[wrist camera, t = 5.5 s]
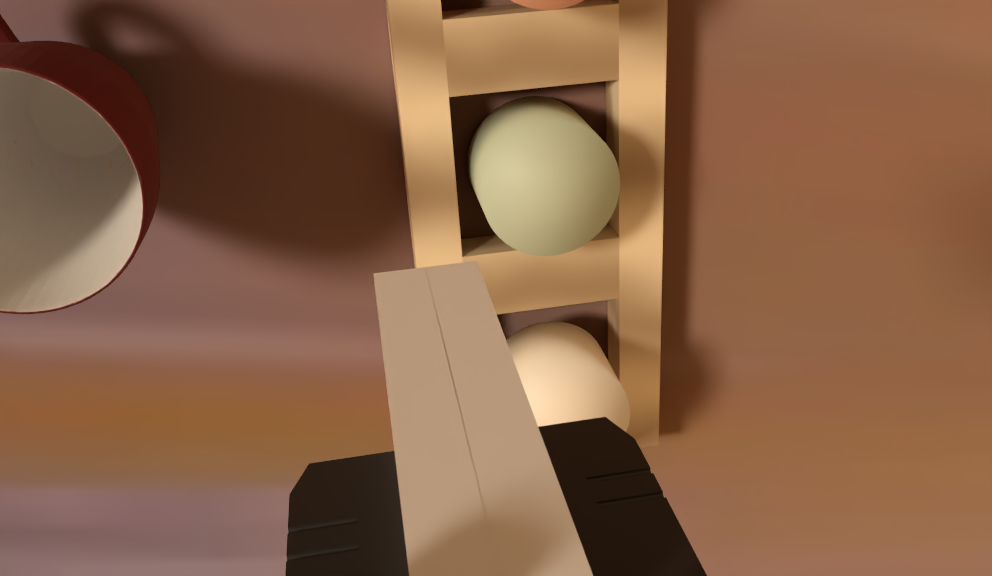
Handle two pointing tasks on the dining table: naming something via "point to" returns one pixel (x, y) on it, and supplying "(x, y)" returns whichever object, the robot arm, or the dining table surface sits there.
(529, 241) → the olive rounded lump
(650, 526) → the robot arm
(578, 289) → the wooden ladder frame
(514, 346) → the cream button
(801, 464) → the dining table surface
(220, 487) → the dining table surface
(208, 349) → the dining table surface
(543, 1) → the terracotta button
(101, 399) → the dining table surface
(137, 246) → the mug
